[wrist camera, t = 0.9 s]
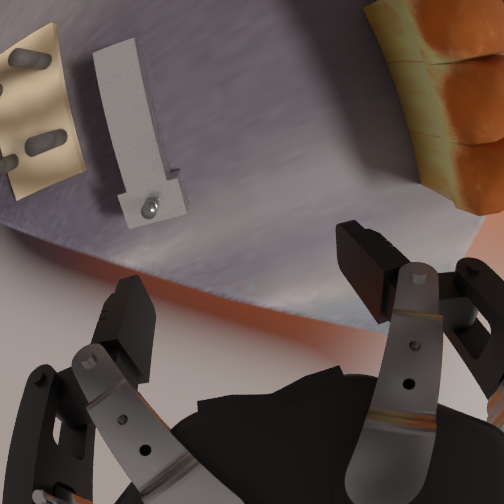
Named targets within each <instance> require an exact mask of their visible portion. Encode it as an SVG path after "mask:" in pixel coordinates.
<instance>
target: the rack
mask: <svg viewBox="0 0 504 504" xmlns="http://www.w3.org/2000/svg"><path fill="white" fill-rule="evenodd" d="M0 148H1V152H2V156H3V158H1V159H0V176H2V175H4V174H6V173H8V176H9V179H10V182H11V186H12V188H13V191H14V194H15V197H16V200H17V201H18V200H20V199H22V198H24V197H26V196H28V195H30V194H32V193H34V192H37V191H39V190H41V189H43V188H46V187H48V186H50V185H53V184H55V183H57V182H60V181H62V180H64V179H67V178H69V177H72V176H74V175H77V174H79V173H82V172H84V171H85V170H87V169H86V166H85V163H84V159H83V156H82V153H81V149H80V145H79V142H78V138H77V134H76V130H75V126H74V122H73V118H72V114H71V110H70V105H69V101H68V96H67V91H66V86H65V81H64V75H63V69H62V63H61V57H60V49H59V42H58V33H57V24H55V23H53V22H51V23H49V24H48V25H46V26H44V27H42V28H41V29H39V30H37V31H35V32H34V33H32V34H30V35H29V36H27V37H26V38H24V39H22V40H21V41H19V42H18V43H16V44H15V45H13V46H12V47H10V48H9V49H7V50H6V51H5V52H3V53H2V54H0Z"/></svg>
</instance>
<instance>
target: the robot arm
mask: <svg viewBox="0 0 504 504" xmlns="http://www.w3.org/2000/svg"><path fill="white" fill-rule="evenodd" d="M336 244H337V260H338V265H339V268H340V270H341V272H342V273H343V275H344V276H345V277H346V279H347V280H348V282H349V283H350V284H351V286H352V287H353V289H354V290H355V291H356V293H357V294H358V296H359V297H360V298H361V300H362V301H363V303H364V304H365V306H366V307H367V309H368V310H369V311H370V313H371V314H372V316H373V317H374V319H375V320H376V322H377V323H378V325H379V324H381V323H384V322H386V321H389V322H390V328H389V333H388V338H387V343H386V347H385V352H384V356H383V360H382V364H381V368H380V372H379V376H378V378H377V377H374V376H369V375H363V374H345V375H344V374H343V372H342V370H341V368H340V366H339V365H338V366H335V367H332V368H329V369H326V370H324V371H320V372H317V373H314V374H310V375H307V376H305V377H303V378H301V379H299V380H297V381H295V382H293V383H292V384H290V385H288V386H286V387H284V388H282V389H280V390H278V391H276V392H274V393H271V394H261V395H228V396H223V397H218V398H213V399H207V400H201V401H197V403H198V404H197V405H198V412H196V413H193V414H191V415H190V416H188V417H186V418H185V419H183V420H181V421H180V422H179V423H178V424H176V425H175V426H174V427H173V428H172V429H170V428H169V426H167V424H166V423H165V422H164V421H163V420H162V419H161V418H160V417H159V416H158V414H157V413H156V412H155V411H154V410H153V409H152V407H151V406H150V405H149V404H148V403H147V402H146V400H145V399H144V398H143V397H142V396H141V394H140V393H139V392H138V391H137V389H138V384H142V383H148V382H149V376H150V366H151V355H152V347H153V338H154V330H155V323H156V313H155V309H154V306H153V303H152V302H151V299H150V297H149V295H148V293H147V291H146V289H145V287H144V285H143V283H142V281H141V279H140V277H139V276H138V275H134V276H130V277H126V278H122V279H120V280H119V282H118V285H117V287H116V290H115V293H112V294H111V295H110V296H109V298H108V299H107V300H106V301H105V303H104V305H103V308H102V311H101V314H100V317H99V321H98V323H97V326H96V329H95V332H94V335H93V338H92V341H91V344H90V345H87V346H85V347H83V348H82V349H80V350H79V351H78V352H77V353H76V355H75V356H74V358H73V360H72V367H69V368H67V369H65V370H63V371H60V372H58V373H57V372H56V371H55V370H54V369H53V368H52V366H50V365H47V364H45V365H41V366H39V367H37V368H36V369H35V370H34V371H33V372H32V373H31V374H30V376H29V378H28V380H27V383H26V386H25V389H24V393H23V396H22V399H21V403H20V407H19V410H18V414H17V418H16V422H15V426H14V430H13V435H12V440H11V444H10V449H9V455H8V461H7V467H6V474H5V482H4V491H3V502H2V504H93V499H92V498H93V495H92V494H93V493H92V491H93V490H92V489H93V483H92V482H93V457H94V441H95V429H96V427H97V429H98V431H99V433H100V434H101V436H102V437H103V439H104V441H105V443H106V444H107V446H108V447H109V449H110V450H111V452H112V454H113V455H114V456H115V458H116V460H117V461H118V463H119V464H120V465H121V467H122V468H123V470H124V471H125V473H126V474H127V476H128V477H129V478H130V480H131V481H132V482H131V483H130V484H129V486H128V487H127V488H126V490H125V491H124V492H123V493H122V495H121V496H120V497H119V498H118V500H117V501H116V502H115V503H114V504H504V281H503V280H502V279H501V278H500V277H499V276H498V275H497V274H496V273H495V272H494V271H493V270H492V269H491V268H490V267H489V266H488V265H486V264H485V263H484V262H482V261H481V260H479V259H476V258H462V259H460V260H459V261H458V262H457V265H456V269H455V272H446V273H437V271H436V270H435V269H434V268H433V267H431V266H430V265H428V264H425V263H421V262H410V261H409V260H408V259H407V258H406V257H405V256H404V255H403V254H402V253H401V252H400V251H399V250H398V249H397V248H395V247H394V246H393V245H392V244H391V243H390V242H389V241H387V239H386V238H384V237H383V236H382V235H381V234H380V233H378V232H376V231H373V230H371V229H364V228H363V227H362V226H361V225H360V224H359V223H358V222H357V221H355V220H351V221H347V222H343V223H339V224H337V225H336ZM478 311H479V312H480V313H481V314H482V315H483V316H484V317H485V319H486V320H487V321H488V323H489V324H490V327H491V335H490V333H489V332H488V331H487V330H486V328H485V327H484V326H483V325H482V323H481V322H480V321H479V320H478V318H477V317H476V316H477V314H478ZM443 332H444V333H445V335H446V336H447V337H448V339H449V340H450V342H451V343H452V345H453V346H454V348H455V349H456V351H457V352H458V353H459V355H460V356H461V358H462V359H463V361H464V362H465V364H466V365H467V367H468V369H469V370H470V371H471V373H472V375H473V376H474V378H475V380H476V381H477V383H478V384H479V386H480V387H481V389H482V391H483V393H484V394H485V396H486V398H487V399H488V404H487V412H488V417H487V422H486V421H483V420H480V419H477V418H475V417H472V416H469V415H467V414H464V413H462V412H459V411H456V410H454V409H451V408H449V407H446V406H444V405H441V404H438V395H439V387H440V378H441V367H442V351H443ZM55 417H57V418H58V419H59V420H60V421H62V423H61V430H60V437H59V443H58V445H57V444H56V442H55V441H54V438H53V428H54V422H55Z"/></svg>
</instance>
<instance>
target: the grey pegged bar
mask: <svg viewBox="0 0 504 504" xmlns="http://www.w3.org/2000/svg"><path fill="white" fill-rule="evenodd" d="M93 59H94V64H95V70H96V75H97V80H98V85H99V90H100V95H101V99H102V104H103V108H104V112H105V116H106V121H107V125H108V129H109V133H110V136H111V140H112V144H113V148H114V151H115V155H116V158H117V162H118V165H119V169H120V172H121V175H122V179H123V182H124V185H125V187H124V188H123V189H122V191H121V192H120V193H119V194H118V195H117V196H118V199H119V202H120V205H121V208H122V211H123V213H124V216H125V219H126V222H127V225H128V227H129V229H132V228H136V227H139V226H143V225H147V224H150V223H154V222H158V221H162V220H165V219H169V218H173V217H177V216H181V215H185V214H187V211H188V203H189V200H188V196H187V192H186V188H185V185H184V181H183V177H182V173H181V169H178V170H175V171H171V169H170V165H169V161H168V157H167V153H166V149H165V146H164V141H163V137H162V133H161V129H160V125H159V121H158V117H157V112H156V108H155V103H154V99H153V94H152V90H151V85H150V80H149V76H148V71H147V66H146V61H145V56H144V51H143V46H142V45H141V44H140V43H139V42H138V41H137V40H136V39H135V38H131V39H128V40H126V41H123V42H120V43H117V44H114V45H112V46H109V47H106V48H104V49H101V50H99V51H96V52H94V53H93Z"/></svg>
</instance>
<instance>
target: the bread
mask: <svg viewBox="0 0 504 504" xmlns="http://www.w3.org/2000/svg"><path fill="white" fill-rule="evenodd" d="M362 9H363V11H364V13H365V15H366V17H367V19H368V21H369V23H370V25H371V27H372V29H373V32H374V34H375V36H376V38H377V41H378V43H379V45H380V48H381V50H382V52H383V55H384V57H385V60H386V62H387V65H388V68H389V70H390V73H391V76H392V78H393V81H394V84H395V87H396V90H397V93H398V96H399V99H400V102H401V105H402V109H403V112H404V115H405V119H406V122H407V126H408V130H409V133H410V137H411V141H412V145H413V149H414V154H415V158H416V163H417V167H418V172H419V177H420V182H421V185H423V186H425V187H427V188H429V189H431V190H433V191H435V192H437V193H439V194H441V195H442V196H444V197H446V198H448V199H450V200H452V201H453V202H454V204H455V207H456V208H458V209H461V210H464V211H466V212H469V213H472V214H475V215H478V216H482V215H488V214H495V213H500V212H502V211H503V210H504V55H503V54H501V53H504V3H503V1H502V0H378V1H376V2H373V3H371V4H369V5H366V6H364V7H362Z"/></svg>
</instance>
